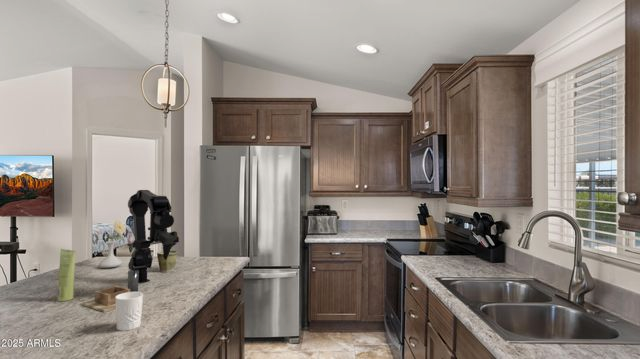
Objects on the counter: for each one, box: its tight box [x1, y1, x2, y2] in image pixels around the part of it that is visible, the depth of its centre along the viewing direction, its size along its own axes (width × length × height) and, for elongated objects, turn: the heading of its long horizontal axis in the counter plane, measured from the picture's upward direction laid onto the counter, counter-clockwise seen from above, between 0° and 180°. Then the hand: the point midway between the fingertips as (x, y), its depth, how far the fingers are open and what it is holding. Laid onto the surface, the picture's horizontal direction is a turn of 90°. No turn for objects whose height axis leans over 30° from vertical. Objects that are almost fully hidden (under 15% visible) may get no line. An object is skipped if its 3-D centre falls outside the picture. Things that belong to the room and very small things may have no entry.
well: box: [82, 285, 130, 313], centre depth 131 cm, size 14×14×5 cm
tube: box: [57, 248, 76, 302], centre depth 134 cm, size 6×5×20 cm
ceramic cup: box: [156, 249, 179, 274], centre depth 181 cm, size 13×10×10 cm
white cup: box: [115, 291, 144, 332], centre depth 110 cm, size 8×8×10 cm
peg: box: [127, 269, 139, 292], centre depth 144 cm, size 4×4×9 cm
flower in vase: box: [98, 220, 127, 269], centre depth 187 cm, size 13×11×25 cm
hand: (156, 261), depth 145 cm, fingers open, 9 cm apart
